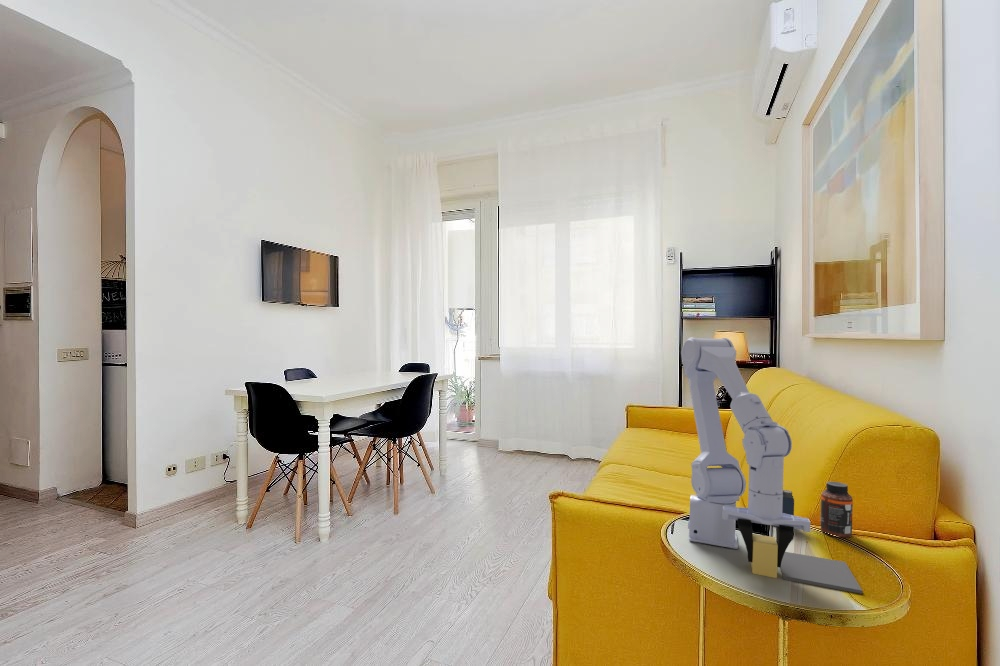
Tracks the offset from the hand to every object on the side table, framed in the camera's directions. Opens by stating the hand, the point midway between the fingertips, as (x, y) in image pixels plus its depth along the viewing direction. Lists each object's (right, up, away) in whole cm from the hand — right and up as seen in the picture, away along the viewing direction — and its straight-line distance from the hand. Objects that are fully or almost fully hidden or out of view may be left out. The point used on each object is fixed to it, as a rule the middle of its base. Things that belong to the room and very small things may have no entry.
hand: (763, 562), depth 94 cm
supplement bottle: (+27, -3, +19) cm, 33 cm away
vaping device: (+16, -2, +23) cm, 29 cm away
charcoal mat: (+10, -2, 0) cm, 10 cm away
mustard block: (0, -2, 0) cm, 2 cm away
